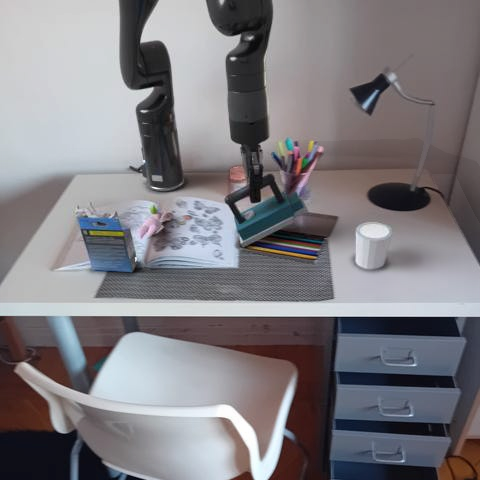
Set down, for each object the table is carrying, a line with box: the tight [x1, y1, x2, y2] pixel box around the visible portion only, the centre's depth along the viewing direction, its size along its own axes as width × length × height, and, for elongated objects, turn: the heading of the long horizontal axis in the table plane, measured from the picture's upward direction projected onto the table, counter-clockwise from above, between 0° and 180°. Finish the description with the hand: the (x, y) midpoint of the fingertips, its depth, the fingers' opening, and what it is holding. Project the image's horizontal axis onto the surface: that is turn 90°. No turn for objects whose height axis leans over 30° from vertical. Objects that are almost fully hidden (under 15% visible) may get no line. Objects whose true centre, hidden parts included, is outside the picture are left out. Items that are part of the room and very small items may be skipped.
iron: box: [224, 173, 309, 248], centre depth 104 cm, size 15×7×10 cm, turn 96°
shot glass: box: [355, 221, 393, 270], centre depth 97 cm, size 7×7×7 cm
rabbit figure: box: [137, 204, 165, 240], centre depth 111 cm, size 6×6×15 cm
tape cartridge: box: [76, 216, 139, 273], centre depth 99 cm, size 9×4×12 cm, turn 79°
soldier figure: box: [74, 200, 119, 219], centre depth 117 cm, size 8×5×12 cm
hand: (254, 199), depth 103 cm, fingers closed on iron, 2 cm apart
